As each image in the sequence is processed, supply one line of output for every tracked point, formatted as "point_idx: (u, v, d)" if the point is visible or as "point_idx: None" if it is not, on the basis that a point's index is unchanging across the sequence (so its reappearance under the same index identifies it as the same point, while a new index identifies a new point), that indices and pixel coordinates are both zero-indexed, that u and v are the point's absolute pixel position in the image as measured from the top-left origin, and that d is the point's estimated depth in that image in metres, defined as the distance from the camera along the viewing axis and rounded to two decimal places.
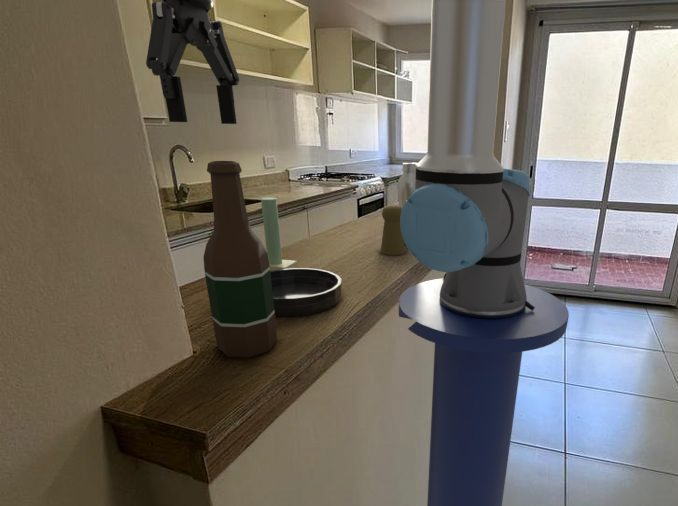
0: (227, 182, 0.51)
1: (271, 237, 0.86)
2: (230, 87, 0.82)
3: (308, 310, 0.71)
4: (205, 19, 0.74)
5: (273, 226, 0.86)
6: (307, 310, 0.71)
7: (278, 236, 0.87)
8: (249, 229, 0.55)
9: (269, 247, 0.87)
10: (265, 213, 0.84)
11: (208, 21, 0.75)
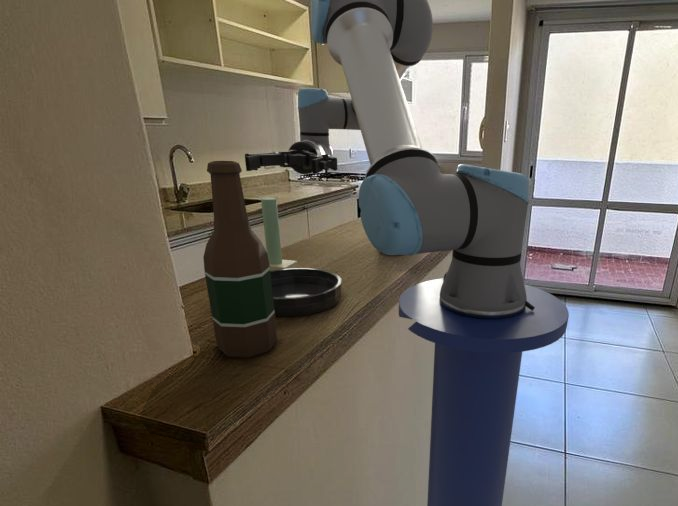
0: (227, 182, 0.51)
1: (271, 237, 0.86)
2: (319, 157, 0.96)
3: (308, 310, 0.71)
4: None
5: (273, 226, 0.86)
6: (307, 310, 0.71)
7: (278, 236, 0.87)
8: (249, 229, 0.55)
9: (269, 247, 0.87)
10: (265, 213, 0.84)
11: None
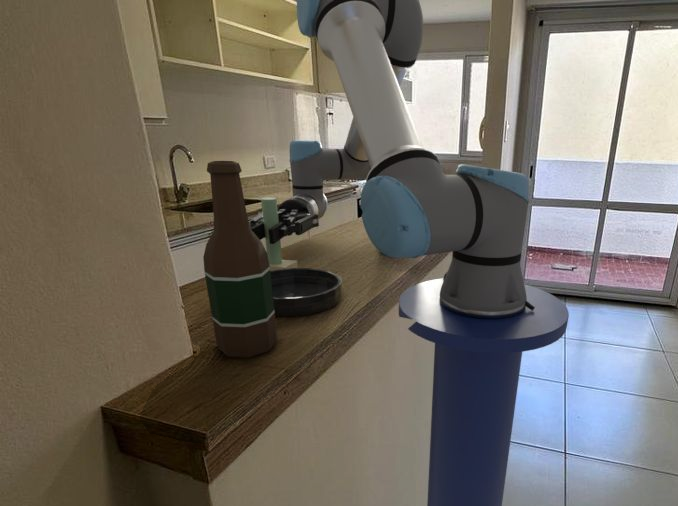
0: (226, 182, 0.51)
1: None
2: (280, 222, 0.87)
3: (308, 310, 0.71)
4: (301, 213, 0.98)
5: None
6: (307, 310, 0.71)
7: None
8: (249, 229, 0.55)
9: (269, 247, 0.87)
10: (265, 213, 0.84)
11: (305, 213, 0.98)
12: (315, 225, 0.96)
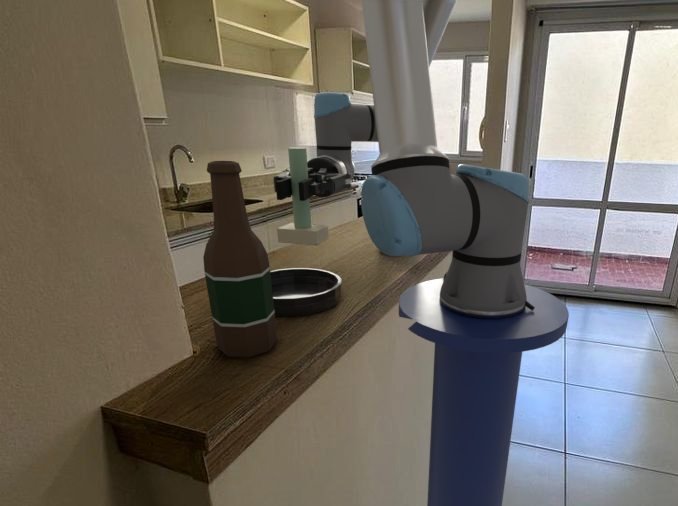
0: (226, 182, 0.51)
1: None
2: (310, 178, 0.73)
3: (308, 310, 0.71)
4: (330, 173, 0.85)
5: None
6: (307, 310, 0.71)
7: None
8: (249, 229, 0.55)
9: (297, 207, 0.73)
10: (293, 165, 0.71)
11: (335, 173, 0.84)
12: (347, 186, 0.83)
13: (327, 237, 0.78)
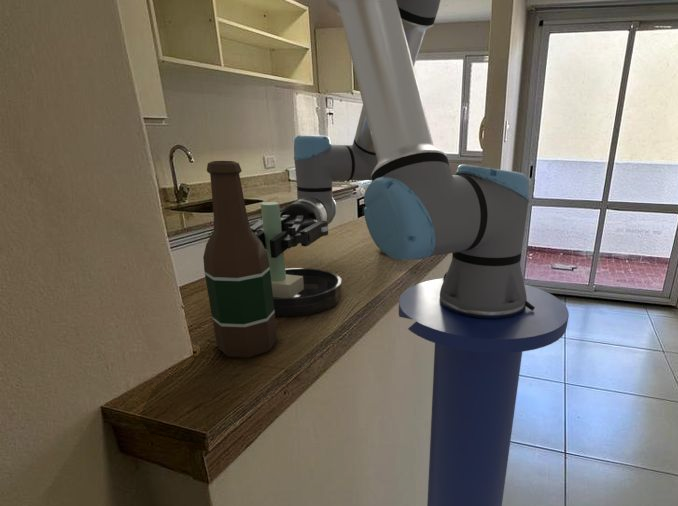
0: (226, 182, 0.51)
1: None
2: (284, 231, 0.73)
3: (308, 310, 0.71)
4: (307, 219, 0.85)
5: None
6: (307, 310, 0.71)
7: None
8: (249, 229, 0.55)
9: (270, 260, 0.73)
10: (266, 221, 0.71)
11: (312, 219, 0.84)
12: (324, 234, 0.83)
13: (302, 287, 0.78)
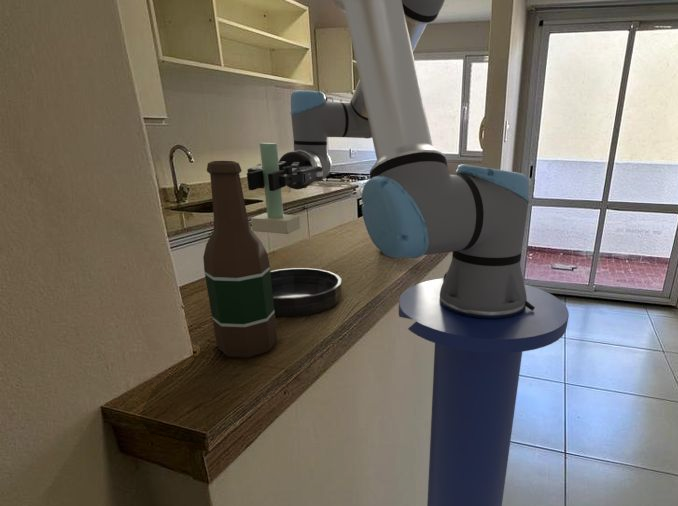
0: (226, 182, 0.51)
1: None
2: (281, 170, 0.79)
3: (308, 310, 0.71)
4: (303, 166, 0.90)
5: None
6: (307, 310, 0.71)
7: None
8: (249, 229, 0.55)
9: (269, 198, 0.79)
10: (264, 159, 0.77)
11: (308, 166, 0.90)
12: (319, 178, 0.88)
13: (299, 226, 0.84)
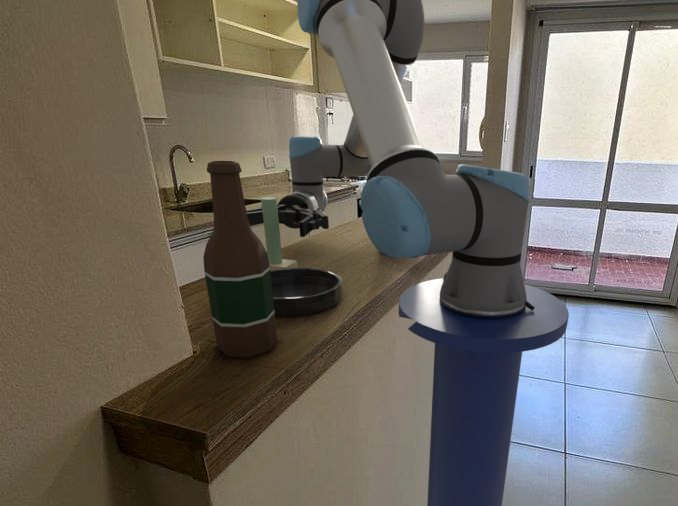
0: (226, 182, 0.51)
1: (272, 237, 0.86)
2: (309, 216, 0.89)
3: (308, 310, 0.71)
4: None
5: (273, 226, 0.86)
6: (307, 310, 0.71)
7: (278, 236, 0.87)
8: (249, 229, 0.55)
9: (269, 247, 0.87)
10: (265, 213, 0.85)
11: (304, 209, 0.98)
12: None
13: None
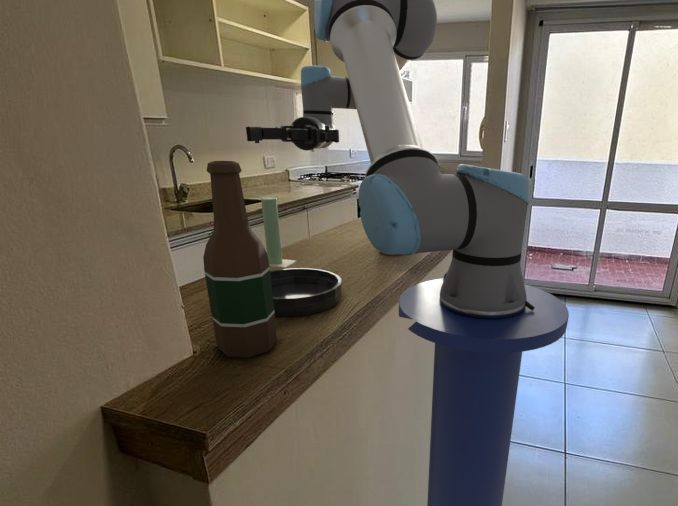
0: (226, 182, 0.51)
1: (272, 237, 0.86)
2: (321, 129, 0.95)
3: (308, 310, 0.71)
4: None
5: (273, 226, 0.86)
6: (307, 310, 0.71)
7: (278, 236, 0.87)
8: (249, 229, 0.55)
9: (269, 247, 0.87)
10: (265, 213, 0.85)
11: None
12: None
13: None
